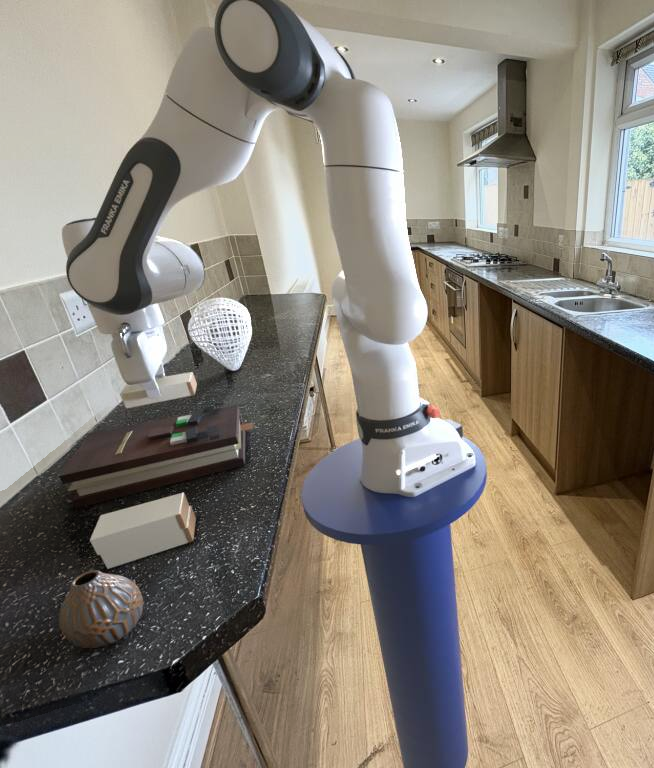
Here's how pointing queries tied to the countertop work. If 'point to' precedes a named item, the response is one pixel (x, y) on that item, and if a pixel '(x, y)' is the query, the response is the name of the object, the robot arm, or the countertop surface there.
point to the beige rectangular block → (143, 530)
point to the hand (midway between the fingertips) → (158, 390)
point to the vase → (100, 609)
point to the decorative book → (156, 454)
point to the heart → (199, 335)
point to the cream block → (169, 390)
